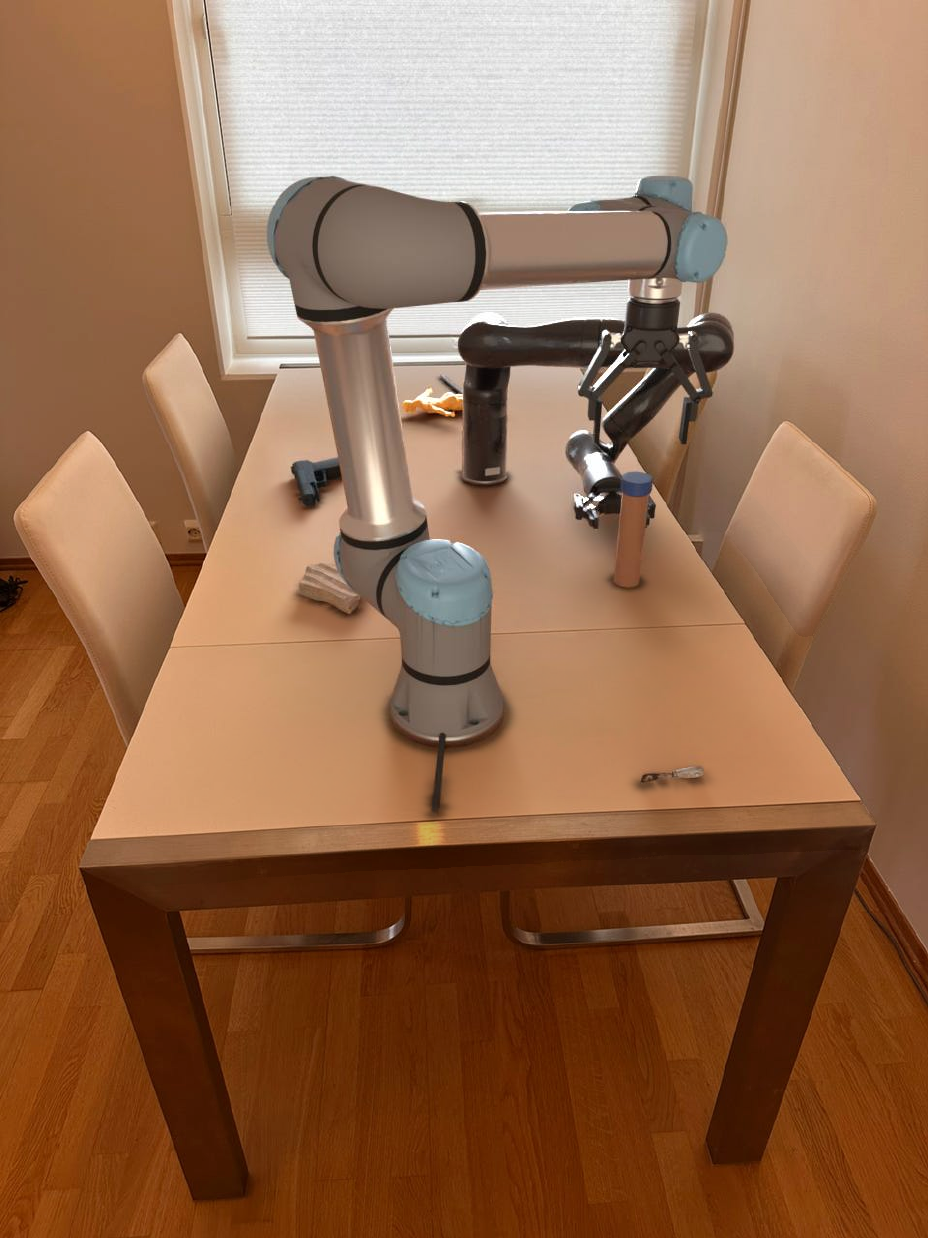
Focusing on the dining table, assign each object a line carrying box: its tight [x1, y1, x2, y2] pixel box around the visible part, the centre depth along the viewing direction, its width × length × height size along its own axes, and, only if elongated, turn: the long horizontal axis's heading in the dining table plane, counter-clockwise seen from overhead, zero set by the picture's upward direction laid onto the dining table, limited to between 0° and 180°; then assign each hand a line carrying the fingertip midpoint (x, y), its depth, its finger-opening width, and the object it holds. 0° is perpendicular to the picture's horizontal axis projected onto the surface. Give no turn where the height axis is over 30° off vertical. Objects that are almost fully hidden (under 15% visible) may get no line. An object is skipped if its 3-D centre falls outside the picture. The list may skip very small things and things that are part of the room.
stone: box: [297, 562, 362, 615], centre depth 148 cm, size 13×12×2 cm
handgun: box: [290, 456, 342, 507], centre depth 184 cm, size 3×18×12 cm
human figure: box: [402, 385, 462, 418], centre depth 225 cm, size 20×20×4 cm
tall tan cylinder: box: [613, 492, 650, 589], centre depth 146 cm, size 4×4×18 cm
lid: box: [620, 471, 654, 497], centre depth 142 cm, size 5×5×2 cm
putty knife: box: [640, 765, 705, 784], centre depth 109 cm, size 1×8×2 cm, turn 103°
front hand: (639, 440), depth 138 cm, fingers open, 13 cm apart
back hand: (621, 524), depth 155 cm, fingers open, 8 cm apart
